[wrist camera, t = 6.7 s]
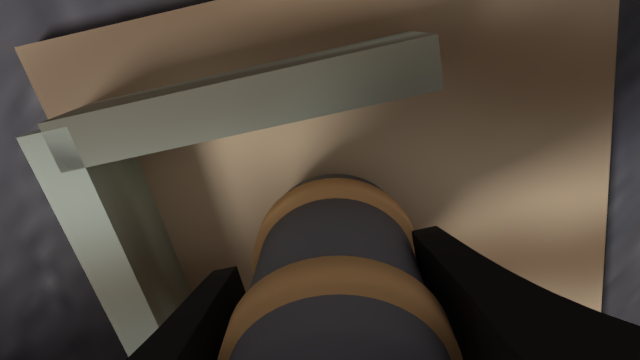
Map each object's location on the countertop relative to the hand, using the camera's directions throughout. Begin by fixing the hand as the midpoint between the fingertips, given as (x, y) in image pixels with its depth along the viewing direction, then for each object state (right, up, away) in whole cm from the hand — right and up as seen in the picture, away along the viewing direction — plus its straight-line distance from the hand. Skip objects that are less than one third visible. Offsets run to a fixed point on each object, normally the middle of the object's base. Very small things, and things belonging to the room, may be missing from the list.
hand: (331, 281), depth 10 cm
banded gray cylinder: (0, +1, +2) cm, 2 cm away
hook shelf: (+1, 0, +4) cm, 4 cm away
